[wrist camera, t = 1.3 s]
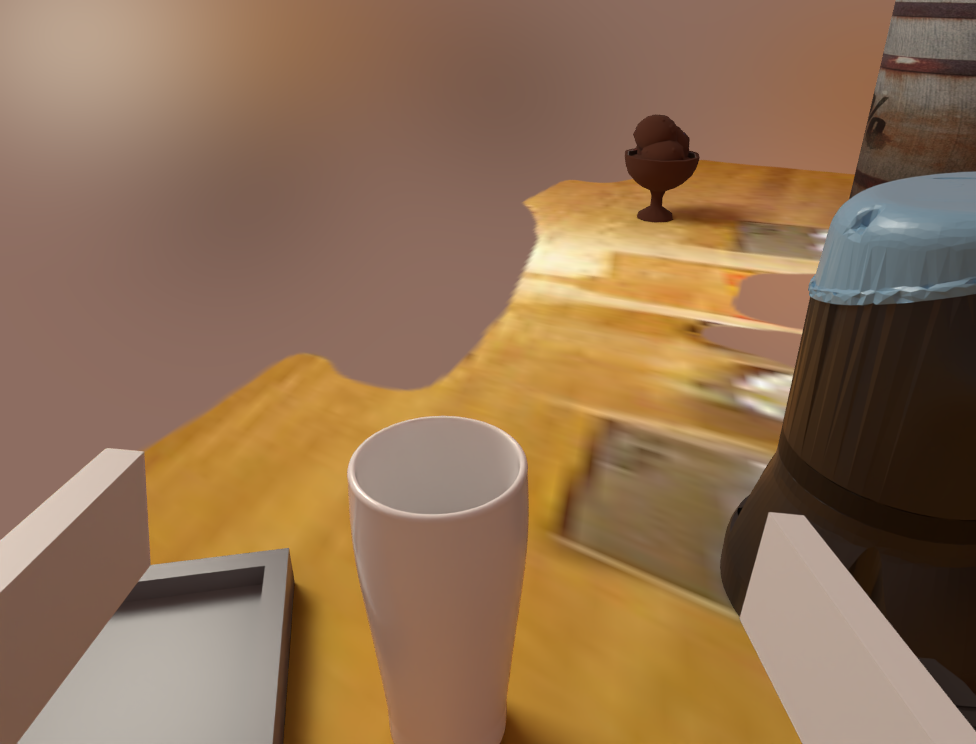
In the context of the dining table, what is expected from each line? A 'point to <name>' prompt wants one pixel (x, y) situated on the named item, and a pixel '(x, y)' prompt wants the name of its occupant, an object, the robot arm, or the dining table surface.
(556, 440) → the dining table surface
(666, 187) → the ice cream bowl
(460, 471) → the drinking glass
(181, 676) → the serving tray
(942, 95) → the barrel
